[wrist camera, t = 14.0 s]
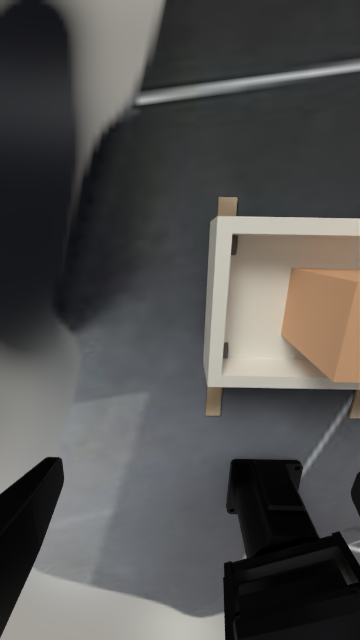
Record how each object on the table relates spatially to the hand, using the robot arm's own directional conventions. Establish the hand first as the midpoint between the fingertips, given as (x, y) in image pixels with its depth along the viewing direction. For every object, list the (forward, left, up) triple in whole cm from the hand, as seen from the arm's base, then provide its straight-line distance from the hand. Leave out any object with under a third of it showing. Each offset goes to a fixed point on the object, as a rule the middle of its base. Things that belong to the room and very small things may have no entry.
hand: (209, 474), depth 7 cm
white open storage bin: (+3, -8, -12) cm, 15 cm away
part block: (+3, -8, -10) cm, 13 cm away
